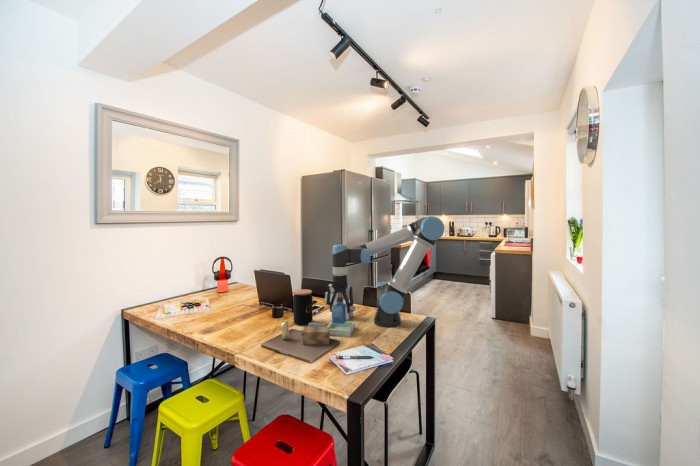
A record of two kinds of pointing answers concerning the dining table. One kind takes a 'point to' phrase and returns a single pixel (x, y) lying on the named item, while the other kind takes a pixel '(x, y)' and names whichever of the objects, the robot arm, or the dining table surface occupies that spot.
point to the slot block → (314, 325)
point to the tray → (341, 329)
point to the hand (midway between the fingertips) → (339, 318)
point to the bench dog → (285, 330)
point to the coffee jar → (302, 307)
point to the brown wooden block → (316, 335)
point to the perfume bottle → (339, 312)
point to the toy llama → (352, 308)
